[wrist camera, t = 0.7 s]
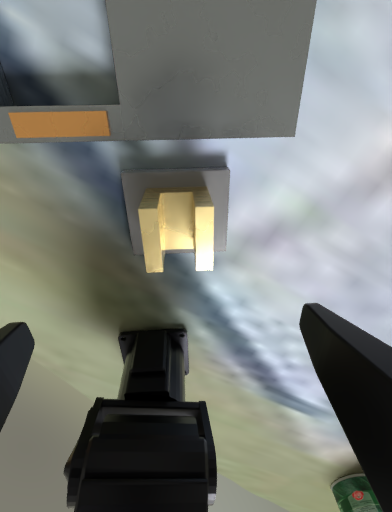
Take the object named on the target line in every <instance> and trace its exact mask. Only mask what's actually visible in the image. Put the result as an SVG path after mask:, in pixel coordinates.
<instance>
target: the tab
mask: <svg viewBox="0 0 392 512" xmlns="http://www.w3.org/2000/svg"><path fill="white" fill-rule="evenodd" d="M121 178H122V184H123V191H124V197H125V203H126V210H127V216H128V222H129V229H130V235H131V241H132V248H133V254H134V255H144V250H143V242H142V235H141V227H140V220H139V212H138V208H139V206H140V203H141V200H142V198H143V195H144V193H145V190H146V188H172V187H204V186H207V188H208V191H209V194H210V197H211V199H212V202H213V205H214V234H213V252H219V251H226V241H227V221H228V201H229V181H230V170H229V168H228V167H213V168H178V169H142V170H123V171H122V172H121ZM171 253H194V249H170V250H165V254H171Z"/></svg>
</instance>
